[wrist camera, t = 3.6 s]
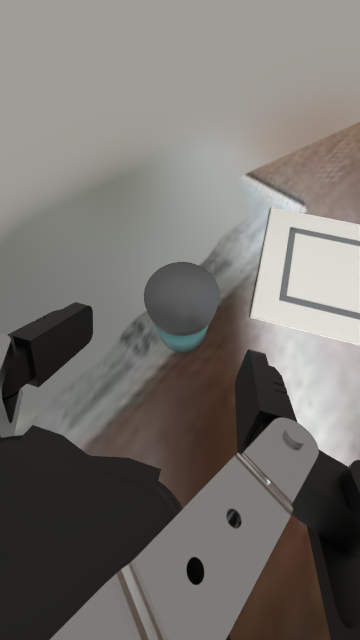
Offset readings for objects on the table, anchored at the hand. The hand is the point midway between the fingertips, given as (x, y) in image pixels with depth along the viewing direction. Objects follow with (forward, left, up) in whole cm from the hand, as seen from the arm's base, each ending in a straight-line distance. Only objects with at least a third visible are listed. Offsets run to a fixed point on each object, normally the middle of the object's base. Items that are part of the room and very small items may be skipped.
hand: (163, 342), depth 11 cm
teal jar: (0, -3, -9) cm, 10 cm away
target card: (-13, -13, -9) cm, 21 cm away
